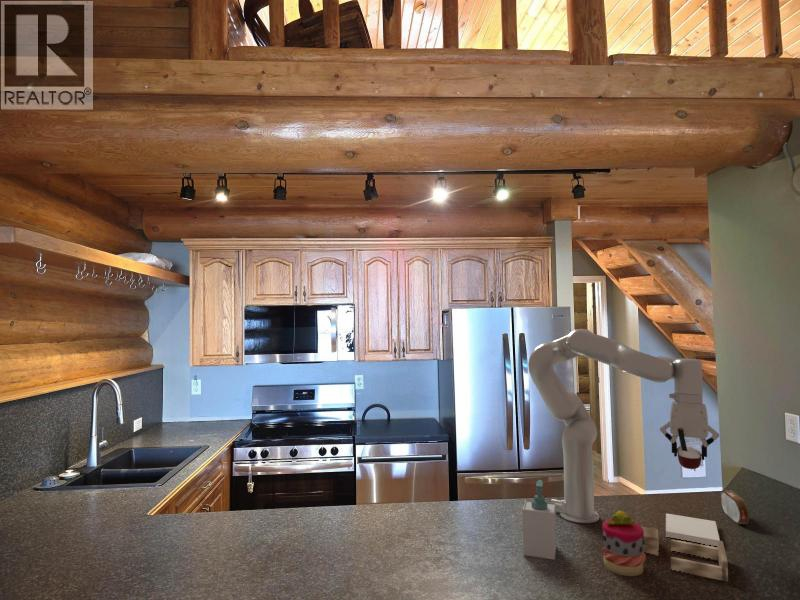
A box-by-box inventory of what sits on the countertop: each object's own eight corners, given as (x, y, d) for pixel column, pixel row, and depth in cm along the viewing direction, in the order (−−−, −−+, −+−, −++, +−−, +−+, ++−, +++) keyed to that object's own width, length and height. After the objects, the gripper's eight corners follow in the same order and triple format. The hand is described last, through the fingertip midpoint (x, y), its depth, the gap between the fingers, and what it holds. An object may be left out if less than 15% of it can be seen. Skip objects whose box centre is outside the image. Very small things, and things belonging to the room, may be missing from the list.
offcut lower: (638, 553, 145) (638, 544, 145) (640, 542, 152) (640, 533, 152) (658, 557, 143) (658, 548, 143) (658, 545, 150) (658, 537, 150)
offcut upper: (640, 544, 145) (640, 535, 145) (640, 534, 152) (640, 526, 152) (658, 547, 143) (658, 538, 143) (657, 537, 150) (657, 529, 150)
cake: (596, 557, 142) (595, 503, 142) (634, 557, 141) (633, 503, 142) (610, 576, 131) (610, 517, 132) (652, 577, 131) (651, 518, 131)
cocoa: (694, 465, 159) (694, 426, 160) (709, 470, 153) (709, 430, 153) (667, 465, 157) (667, 426, 158) (681, 470, 151) (681, 429, 152)
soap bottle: (556, 546, 148) (555, 480, 149) (554, 560, 140) (554, 490, 141) (525, 542, 151) (525, 477, 152) (523, 555, 143) (522, 487, 143)
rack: (671, 569, 134) (670, 550, 135) (670, 549, 146) (670, 532, 146) (728, 581, 128) (727, 561, 129) (723, 559, 140) (722, 541, 140)
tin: (750, 529, 161) (749, 502, 161) (739, 528, 162) (738, 501, 162) (729, 511, 176) (728, 486, 176) (719, 510, 176) (718, 486, 177)
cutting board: (665, 537, 154) (665, 531, 154) (666, 519, 168) (666, 513, 168) (720, 547, 148) (719, 540, 148) (715, 527, 162) (715, 521, 162)
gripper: (656, 398, 157) (656, 456, 156) (722, 403, 148) (723, 464, 148) (657, 394, 163) (658, 450, 163) (721, 399, 155) (722, 458, 154)
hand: (689, 456), depth 155 cm, fingers closed on cocoa, 6 cm apart
